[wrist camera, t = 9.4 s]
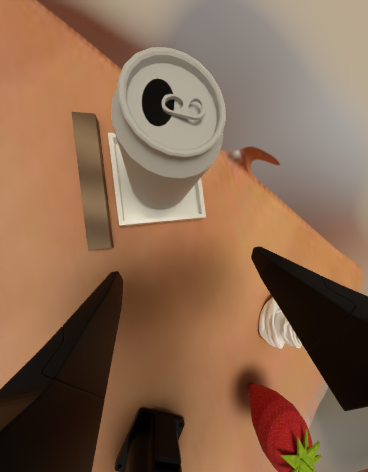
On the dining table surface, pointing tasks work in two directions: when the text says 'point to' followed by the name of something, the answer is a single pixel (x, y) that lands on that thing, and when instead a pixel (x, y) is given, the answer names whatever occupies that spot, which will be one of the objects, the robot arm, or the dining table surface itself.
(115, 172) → the tray
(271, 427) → the strawberry
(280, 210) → the dining table surface
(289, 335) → the whipped cream
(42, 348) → the robot arm
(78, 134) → the strip
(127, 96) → the can
